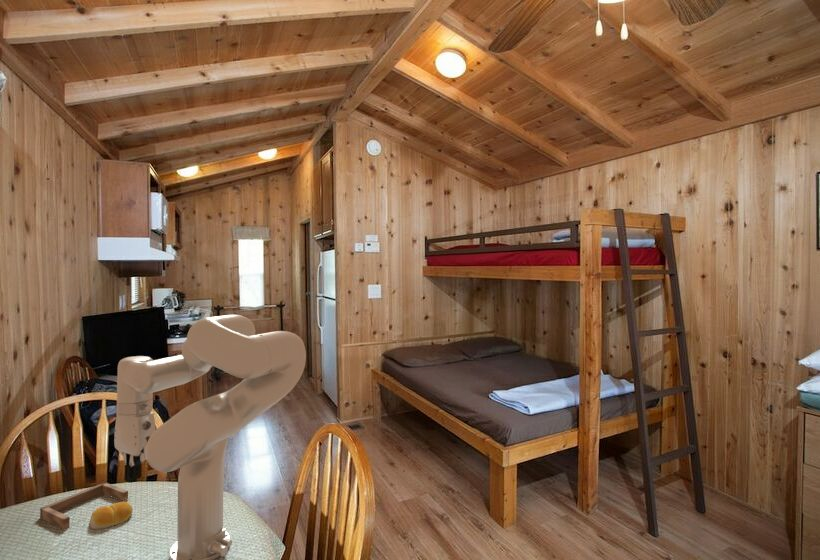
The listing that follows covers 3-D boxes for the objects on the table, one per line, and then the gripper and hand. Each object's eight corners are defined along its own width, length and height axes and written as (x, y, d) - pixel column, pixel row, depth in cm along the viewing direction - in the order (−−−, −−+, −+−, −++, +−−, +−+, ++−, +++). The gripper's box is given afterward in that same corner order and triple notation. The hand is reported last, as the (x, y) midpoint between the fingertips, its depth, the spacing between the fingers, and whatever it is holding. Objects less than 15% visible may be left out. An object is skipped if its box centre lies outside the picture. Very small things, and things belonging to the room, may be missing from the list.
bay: (128, 499, 117) (128, 490, 117) (63, 529, 103) (63, 519, 103) (104, 490, 122) (104, 482, 122) (40, 517, 108) (40, 508, 108)
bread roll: (135, 519, 108) (136, 504, 108) (93, 534, 102) (93, 518, 102) (128, 507, 114) (128, 492, 114) (87, 520, 107) (87, 505, 107)
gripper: (168, 407, 104) (166, 480, 104) (131, 398, 110) (130, 466, 110) (138, 416, 97) (136, 493, 97) (100, 405, 103) (98, 478, 103)
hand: (132, 479), depth 104 cm, fingers closed
